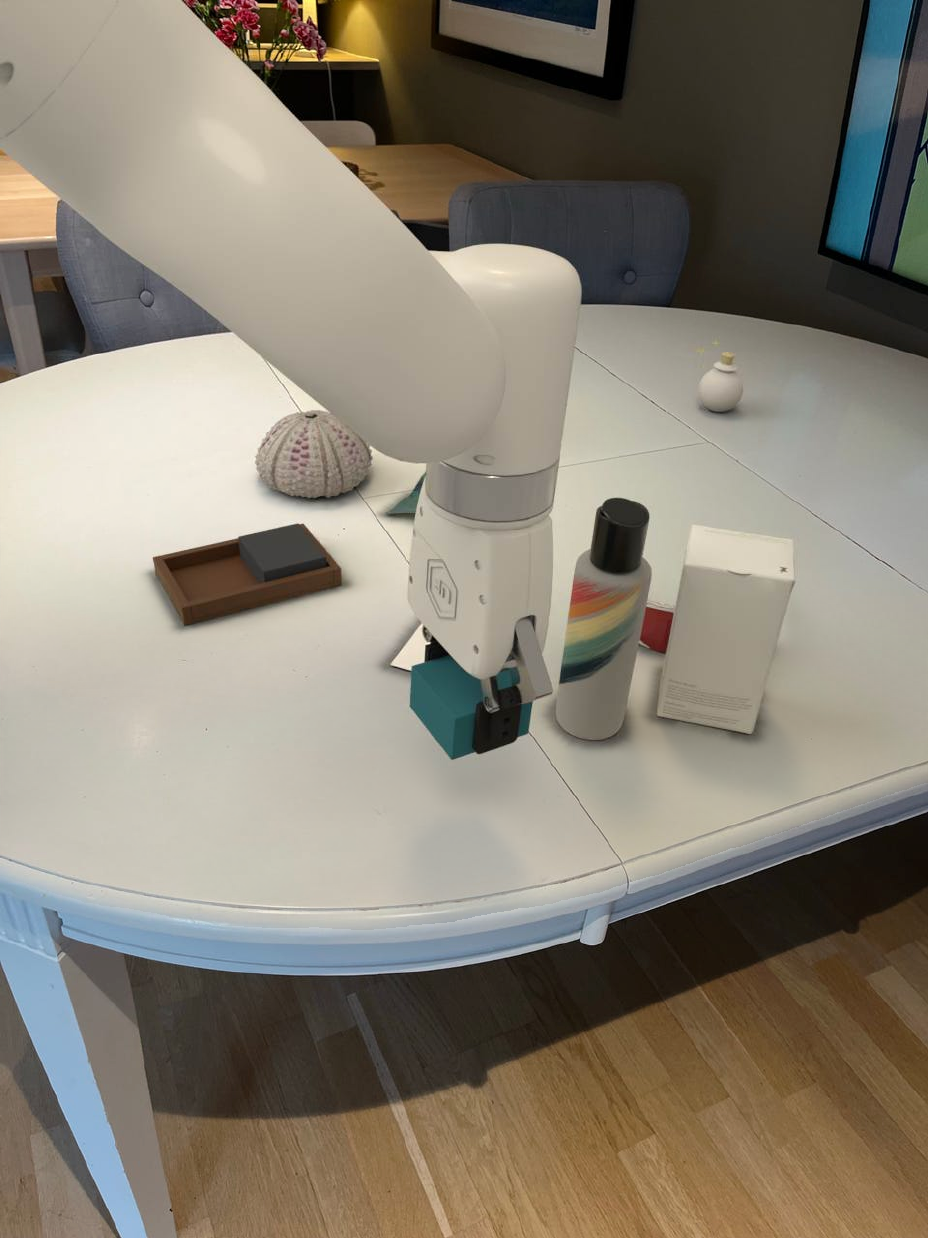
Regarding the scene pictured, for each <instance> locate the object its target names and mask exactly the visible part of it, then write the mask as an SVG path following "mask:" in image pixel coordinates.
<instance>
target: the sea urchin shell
mask: <svg viewBox="0 0 928 1238" xmlns="http://www.w3.org/2000/svg"><path fill="white" fill-rule="evenodd" d="M370 447H371V446H370V445H369V444H368V443H366V442H365V441H364V440H363V439H362V438H360V437H359V436H358V435H357V434H355V433H354V432H353V431H352V430H351V429H349V428H348V427H347V426H346V425H345V424H343V423H342V422H341V421H340V420H338V419H337V418H336V417H335V416H334V415H332V414H331V413H330V412H329V411H327V410H325V411H324V410H320V409H315V410H314V409H312V410H309V411H308V410H307V411H300V412H299V411H297V412H295V413H290V414H288V415H286V416H283V417H282V418H280V419H279V420H278V421H277V422H276V423H275V424H274V425H273V426H271V428H270V430H269V431H266V432H265V437H264V438H262V440H261V444H260V446H259V447H258V448H257V454H256V455H254V458H256V459H255V461H254V464H255V465H256V467H255V469H256V471H257V472H258V477H259V478H261V479H262V480H263V482H264V483H265V485H267V486H269V488H270V489H273V490H274V491H275V490H276V491H277V492H282V493H285V494H286V495H287V496H289V495H290V496H291V497H294V496H296V497H300V496H301V498H304V497H305V498H307V499H311V498H313V499H316V498H319V497H325V498H327V499H329V498H331V497H337V496H340V494H341V493H343V494H347V492H350V491H353V490H354V487H358V486H359V485H360V483H361V482H364V481H365V477H366V476H367V474H369V473H370V471H369V468H370V467H372V465H373V464H372V460H373V459H374V457H373V455H372V452H373V450H372V449H370Z"/></svg>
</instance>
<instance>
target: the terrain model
mask: <svg viewBox="0 0 928 1238" xmlns="http://www.w3.org/2000/svg"><path fill="white" fill-rule="evenodd" d="M425 477H426V471H424V473H423V474H422V475H421V477H420V478H419V480H418V481H417V483H416V485H415V486H414V488H413V489H412V491H411V493H410V494H409V495H408V496H406V497H404V498H403V499H401V500H400V501H398V502H397V504H396V505H395V506H394V507H393V508H391V509H390V510H388V511H386V512H384V514H385V515H388V514H389V515H392V514H405V513H408V514H416V509H417V504H418V500H419V496H420V492H421V488H422V485H423V482H424V479H425Z"/></svg>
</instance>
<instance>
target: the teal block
mask: <svg viewBox="0 0 928 1238" xmlns="http://www.w3.org/2000/svg"><path fill="white" fill-rule="evenodd" d="M410 674H411V675H410V689H409V690H410V693H409V708H410V709H411V710H412V712H413V713H414V714H415V715H416V717H417V718H418V720H419V721H420V722H421V723H422V725H423V726H424V727H425V728H426V730H427V731H428V732H429V733H430V735H431V736H432V737H433V739H434V740H435V741H436V743H438V745H439V746H440V747H441V749H442V750H443V751H444V752H445V754H446V755H447V756H448V757H449V759H450V760H451V761H454V760H457V759H460V758H463V757H465V756H468V755H471V754H473V753H476V752H475V751H474V750H473V748H472V743H473V733H474V723H475V713H476V704H478V703H479V702H481V701H483V697H482V689H481V681H480V679H478V678H475V677H473V676H472V675H470V674H469V673H468V672H466V671H465V670H464V669H463V668H462V667H461V666H460V665H459V664H458V663H457V662H456V661H455V659H454V658H453V657H452V656H451V655H448V656H445V657H441V658H438V659H434V660H431V661H427V662H424V663H420V664H417V665H413V666H412V668H411V671H410ZM496 676H497V684H498V690H501V689H504V688H507V687H510V686H512V681H511V673H510V669H508V670H505V671H502V672H499V673H498V674H497V675H496ZM533 702H534V701H532V702H528V703H524V704H522V708H521V716H520V723H519V731H518V737H517V738H520V737H523V736H527V735H528V734H529V729H530V725H531V724H530V723H531V717H532V710H533Z"/></svg>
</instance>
